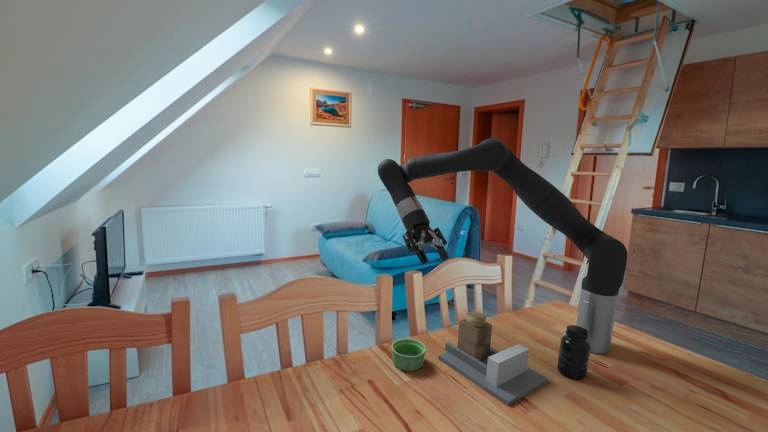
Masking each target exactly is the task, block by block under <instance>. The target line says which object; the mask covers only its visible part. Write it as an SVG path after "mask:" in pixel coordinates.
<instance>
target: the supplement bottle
mask: <svg viewBox="0 0 768 432" xmlns="http://www.w3.org/2000/svg"><path fill="white" fill-rule="evenodd" d="M587 339H588V330H587V329H585V328H583V327H580V326H576V325H574V324H570V325H568V326H566V330H565V334H564V335H563V336H562V337H561V339H560V343H559V349H558V350H559V352H558V356H557V357H558V359H557V365H556V366H557V367H556V368H557V370H558V372H559V373H560V374H561V375H562V376H564V377H566V378H568V379H571V380H576V381H583V380H584V379H586V378H587V376H588V372H589V371H588V370H589V364H590V355H591V352H590V350H591V345H590V343H589V341H588V340H587Z"/></svg>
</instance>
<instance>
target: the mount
mask: <svg viewBox="0 0 768 432" xmlns="http://www.w3.org/2000/svg"><path fill="white" fill-rule="evenodd" d="M444 345H445V347H444V348H445V349H444V350H445V351H446V352H444V353H441V354H438V355H437V356H438V357H437V359H438V360H439V361H441V362H442V363H443V364H446V365H447V366H448V367H450V368H451V369H452V370H454V371H456V372H457V373H459V374H460V375H461V376H463V377H464V378H466V379H467V380H469V381H471V383H474V384H475V385H476V386H478V387H479V388H480V389H482V390H483V391H484V392H486V393H488V394H489V395H491V396H493V397H494V398H495V399H497V400H499V402H501V403H503V404H505V405H506V406H510V405H512V404H514V403H515V402H517V401H519V400H521V399H523V398H524V397H526V396H527V395H529V394H531V393H533V392H534V391H536V390H537V389H540V388H541V387H542V386H544V385H546V384H548V383H549V379H550V378H549V377H547V376H546V375H544V374H541V373H540V372H538V371H536V370H534V369H533V368H531V367H530V366H528V361H529V353H530V348H527V347H526V346H524V345H522V344H519V343H517V344H514V345H512V346H511V347H508V348H505V349H503V350H501V351H499V350H498V349H496V348H494V347H493V346H491V345H490V355H489V357H487V358H485V359H482V360H480V361H479V360H478V359H476V358H474V357H473V356H471V355H469V354H468V353H466V352H464V351H463V350H461V349H459V348H458V346H457V345H454V344H453V343H451V342H449V341H448V342H445V344H444Z"/></svg>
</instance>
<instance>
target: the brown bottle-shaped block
mask: <svg viewBox="0 0 768 432" xmlns="http://www.w3.org/2000/svg"><path fill="white" fill-rule="evenodd" d="M465 317H466V318H465V319H462V320H460V321H459V323H458V334H457V336H458V337H457V347H458V348H459V349H461V350H463V351H464V352H466V353H468V354H469V355H471V356H473V357H474V358H476V359H478V360H479V361H480V360H482V359H485V358H487V357H489V355H490V346H491V343H492V342H491V341H492V330H493V324H491V323H490V322H487V316H486V315H485V314H484V313H481V312H477V311H469V312H467V313H466V316H465Z"/></svg>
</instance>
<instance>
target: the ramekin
mask: <svg viewBox="0 0 768 432" xmlns="http://www.w3.org/2000/svg"><path fill="white" fill-rule="evenodd" d="M391 352H392V353H391V354H392V355H391V356H392V362H393V365H394V366H395V367H396V368H398V369H400V370H402V371H408V372H411V371H413V372H414V371H417V370H419V369H421V368H422V367H423V366H424V360H425V356H426V355H425V354H426V352H427V347H426V346H425V344H424V343H423V342H421V341H419V340H417V339H412V338H402V339H397V340H395V341H394V342H393V343H391Z"/></svg>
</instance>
